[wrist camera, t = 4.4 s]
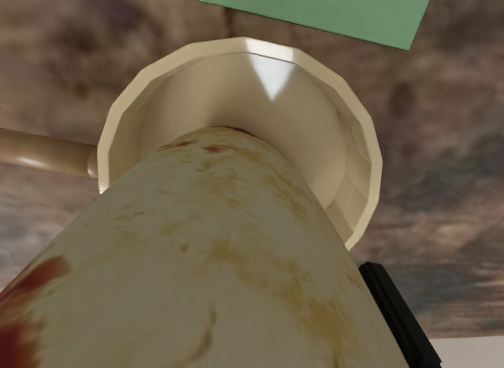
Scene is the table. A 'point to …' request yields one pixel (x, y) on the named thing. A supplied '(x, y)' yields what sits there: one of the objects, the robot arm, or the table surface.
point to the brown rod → (48, 153)
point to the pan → (254, 119)
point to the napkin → (344, 17)
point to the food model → (197, 272)
